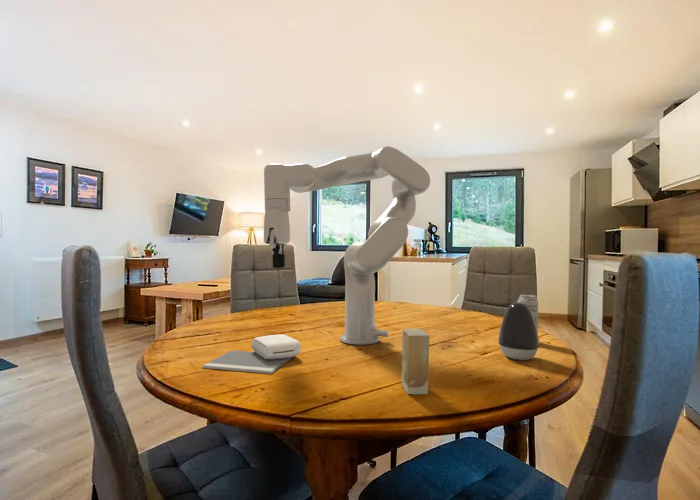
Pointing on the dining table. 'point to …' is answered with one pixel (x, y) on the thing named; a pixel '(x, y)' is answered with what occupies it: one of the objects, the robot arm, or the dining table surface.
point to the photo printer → (276, 346)
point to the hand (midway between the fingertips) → (278, 267)
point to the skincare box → (415, 361)
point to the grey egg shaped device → (518, 333)
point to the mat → (245, 362)
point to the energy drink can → (531, 306)
